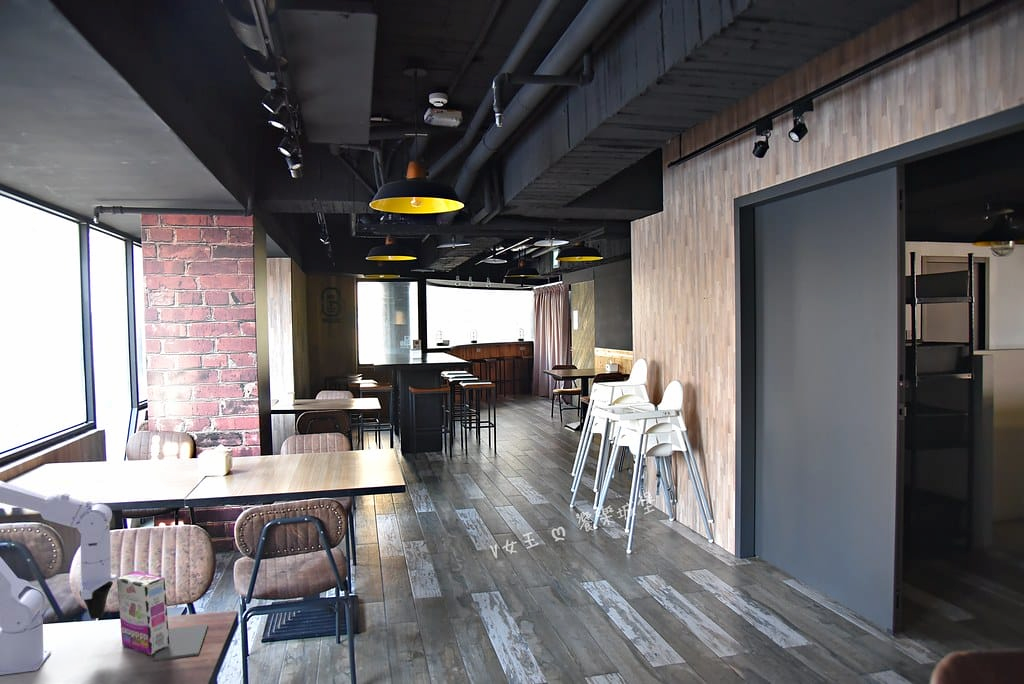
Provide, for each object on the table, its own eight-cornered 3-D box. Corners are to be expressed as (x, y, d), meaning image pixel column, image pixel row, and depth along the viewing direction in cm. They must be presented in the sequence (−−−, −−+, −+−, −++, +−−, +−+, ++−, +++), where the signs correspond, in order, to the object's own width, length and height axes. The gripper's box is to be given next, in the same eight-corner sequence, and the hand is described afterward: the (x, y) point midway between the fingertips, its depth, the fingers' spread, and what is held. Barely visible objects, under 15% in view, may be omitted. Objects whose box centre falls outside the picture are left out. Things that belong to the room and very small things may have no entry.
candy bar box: (171, 645, 151) (166, 577, 150) (151, 656, 147) (145, 585, 146) (141, 635, 157) (136, 569, 156) (121, 645, 152) (115, 577, 151)
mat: (153, 660, 146) (153, 658, 146) (166, 631, 159) (166, 629, 159) (198, 655, 149) (198, 652, 149) (207, 626, 162) (207, 624, 162)
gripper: (106, 569, 142) (107, 629, 143) (124, 545, 156) (125, 601, 157) (68, 572, 140) (70, 634, 141) (90, 548, 154) (91, 604, 155)
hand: (96, 617), depth 149 cm, fingers closed
